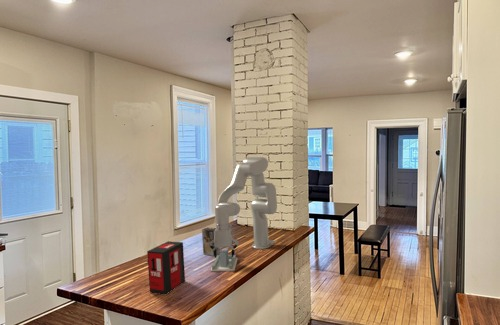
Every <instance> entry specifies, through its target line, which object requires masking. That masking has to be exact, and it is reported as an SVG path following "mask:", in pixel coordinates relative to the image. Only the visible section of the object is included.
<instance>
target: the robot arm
mask: <svg viewBox="0 0 500 325" xmlns="http://www.w3.org/2000/svg"><path fill="white" fill-rule="evenodd" d="M235 166H236V167H235V169H234V172H233V175H232V178H231V181H230V184H229V185H228V186H227V187H226V188H225V189H224V190H223V191H222V192H221V193H220V195H219V197H218V199H217V203H216V205H215V206H214V214H215V215H214V216H215V217H214V218H215V228H216V229H215V234H214V240H212V241H210V242H209V243H208V244H209V246H210V248H211V249H212V250H213V252H214V256H213V257H214V259H216V257H217V250H216V248H217V247H220V248H230V249H231V250H230V252H231V255H232V257H233V256H234V255H236V254H235V249H236V248H238V245H239V244H240V243H239V241H238V240H236V239H235V238H233V233H232V232H233V231H232V227H233V225H232V224H231V223H230V217H235V216H237V215H239V213H240V212H241V206H240V205H239V204H238V203H237V202H231V201H230V202H229V201H228V200H229V199H230V198H231V197H232V196H233V195H236V194H238V193H240V192H242V191H243V190H244V189H245V186H246V183H247V180H248V177H249V178H250V179H251V180H250V181H251V193H252V196H253V197H255V198H254V199H253V200H252V201H251V203H250V210H251V214H252V225H253V226H252V227H253V229H252V230H253V243H252V244H251V248H253V249H256V250H263V249H264V250H265V249H268V248H271V247H272V245H273V244H276V240H274V239H269V223H268V217H267V215H274V214H275V213H277V209H278V200H277V198H278V197H277V188H276V186H275V184H273V183H272V182H266V181H265V174H264V172H265V171H266V170H268V167H269V161H268V159H267V158H266V157H263V156H260V157H255V156H254V157H253V156H252V157H250V156H249V157H245V158H243V159H242V162H240V163H238V164H236V165H235ZM256 197H257V198H256ZM213 242H214V245H215V247H214V246H213V245H212V243H213ZM233 243H235V244H234V245H233Z"/></svg>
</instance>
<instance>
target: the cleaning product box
mask: <svg viewBox="0 0 500 325" xmlns="http://www.w3.org/2000/svg"><path fill="white" fill-rule="evenodd" d="M146 254H147V265H148V266H147V267H148V281H149V282H148V283H149V293H150V292H152V293H151V294H154V293H160V294H159V295H161V294H167V293H168V292H169V293H171V292H172V291H174V290H175V289H177V288H178V287H179V286H180V285H182V284H183V283H185V282H186V273H185V258H184V256H185V254H184V242H183V241H182V242H180V241H169V240H168V241H166V242H163V243H162V244H160V245H157V246H155V247H153V248H151V249H149V250H147V253H146ZM174 288H175V289H174ZM173 289H174V290H173ZM171 290H172V291H171ZM170 291H171V292H170ZM169 293H168V294H169ZM168 294H167V295H168Z"/></svg>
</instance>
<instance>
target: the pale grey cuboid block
mask: <svg viewBox="0 0 500 325" xmlns="http://www.w3.org/2000/svg"><path fill="white" fill-rule="evenodd" d="M219 255H220V267H226V266H227V264H228V261H229V255H230V254H229V248H222V249H220V254H219Z"/></svg>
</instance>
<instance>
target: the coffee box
mask: <svg viewBox="0 0 500 325" xmlns="http://www.w3.org/2000/svg"><path fill="white" fill-rule="evenodd" d="M215 229H216V227H205V228H203V229H201V235H202V236H201V237H202V239H201V240H202V249H203V250H202V251H203V252H202V254H203V255H205V256H213V257H215V256H214V252H213V250H212V249H211V248H210V246H209V244H208V243H209V242H210V241H212V240H214V234H215ZM212 245H213V246H214V247H215V245H214V242H213V243H212ZM216 250H217V255H220V252H221V247H217V248H216Z"/></svg>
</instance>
